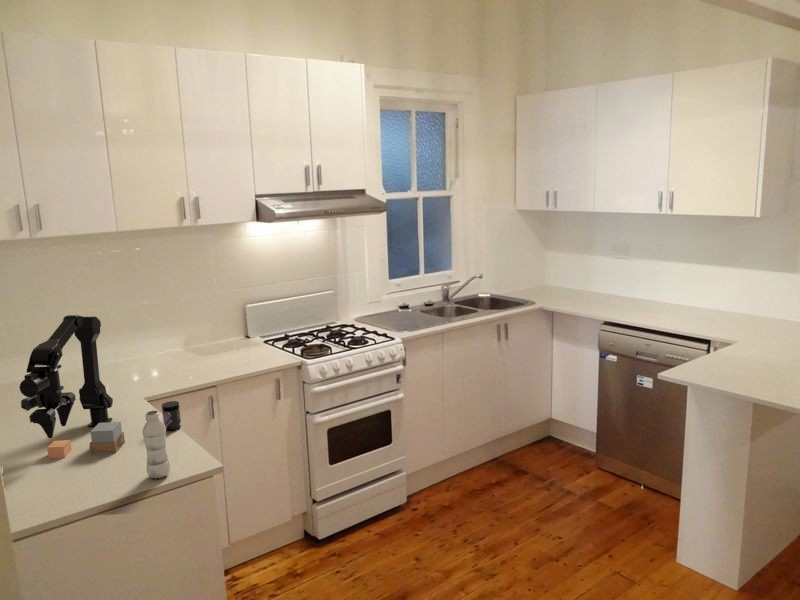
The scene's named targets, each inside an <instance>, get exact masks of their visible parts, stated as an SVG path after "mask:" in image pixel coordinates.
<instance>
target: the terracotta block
mask: <svg viewBox="0 0 800 600" xmlns="http://www.w3.org/2000/svg"><path fill="white" fill-rule="evenodd" d="M46 450H47V454H48V455H47V456H48V459H49V458H53V459H64V458H63V457H65V458H66V457H68V455H69V454H70V453H71V452H72V451H71V450H72V444H71V440H70V439H66V440H65V439H63V440H53V441H52V442H51V443H49V445H48V446H47V447H46ZM67 454H68V455H67Z"/></svg>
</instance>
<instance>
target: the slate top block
mask: <svg viewBox="0 0 800 600" xmlns="http://www.w3.org/2000/svg"><path fill="white" fill-rule="evenodd" d="M122 428H123V427H122V422H121V421H113V422H112V421H110V422H106V423H98V424H97V425H96V426H95V427H93V428H92V429H91V430H90V438H91V441H92V443H104V442H115V441H116V439H117V438H118V437H119V436H120V435H121V434H122V432H123V431H122V430H123V429H122Z"/></svg>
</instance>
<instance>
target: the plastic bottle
mask: <svg viewBox="0 0 800 600" xmlns="http://www.w3.org/2000/svg"><path fill="white" fill-rule="evenodd" d="M160 418H161V417H160V411H159V410H149V411H147V412H146V413H145V421H146V422H145V424H144V426H143V428H142V436H143V441H144V443H145V448H146V461H147V463H146V473H147V476H148V477H149V478H150V479H152V478H153V480H157V478H159V479H162V478H164V476H165V477H166V476H168V475H169V473H170V471H171V465H170V461H169V457H168V453H167V447H166V446H167V445H166V444H167V441H166V435H167V431H166V427H165V425H164V422H163V421H161V420H160ZM167 474H168V475H167ZM154 478H155V479H154Z"/></svg>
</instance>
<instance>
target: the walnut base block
mask: <svg viewBox="0 0 800 600" xmlns="http://www.w3.org/2000/svg"><path fill="white" fill-rule="evenodd" d="M125 443H126V439H125V432H123V431H122V434H121V435H120V436H119V437H118V438H117V439H116V441H115V442H104V443H92V440H91V441H90V442H89V453H90V455H98V454H97V453H108V454H117V453H118V452H119V451H120V450H121V448H122V447H123V446H122V445H124V444H125ZM116 452H117V453H116Z"/></svg>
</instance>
